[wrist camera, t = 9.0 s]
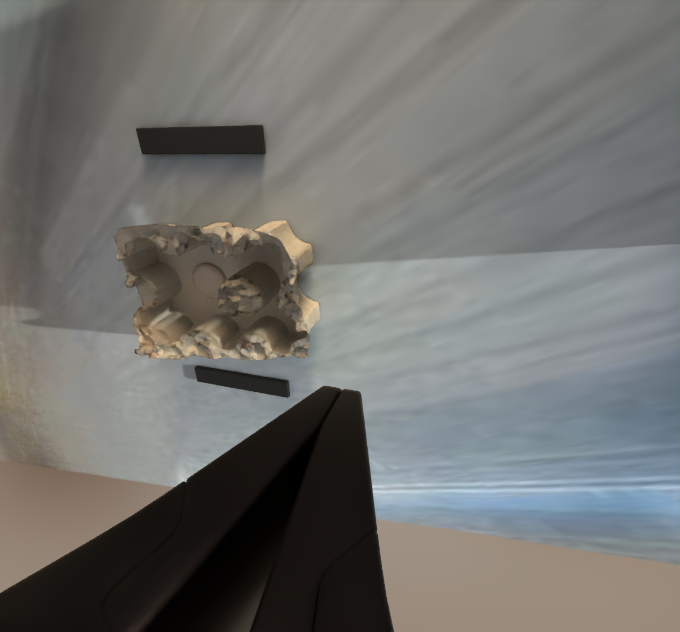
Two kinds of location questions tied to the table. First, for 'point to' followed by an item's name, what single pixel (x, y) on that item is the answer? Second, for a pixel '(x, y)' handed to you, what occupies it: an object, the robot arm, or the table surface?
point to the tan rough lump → (218, 290)
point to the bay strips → (215, 142)
